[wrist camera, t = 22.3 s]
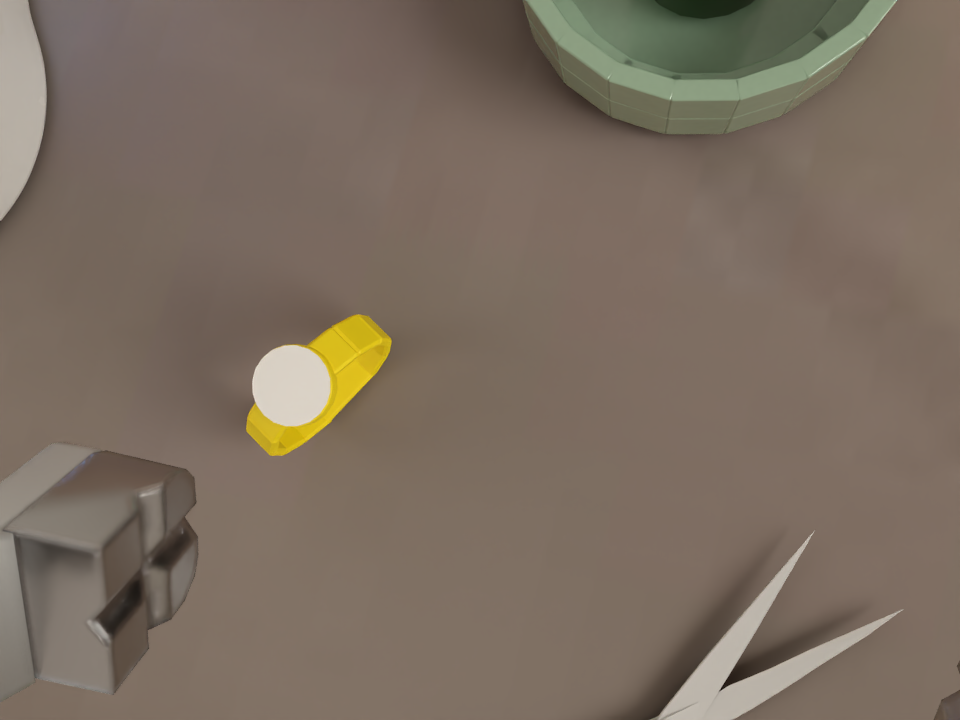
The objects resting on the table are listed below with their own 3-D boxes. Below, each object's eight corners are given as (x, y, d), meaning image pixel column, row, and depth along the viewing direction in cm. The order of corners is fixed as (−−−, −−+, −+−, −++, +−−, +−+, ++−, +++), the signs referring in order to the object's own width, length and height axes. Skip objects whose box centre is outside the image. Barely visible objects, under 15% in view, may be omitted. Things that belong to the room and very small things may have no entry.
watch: (318, 461, 35) (257, 483, 29) (270, 413, 35) (200, 425, 30) (419, 353, 34) (377, 353, 29) (369, 304, 35) (318, 294, 29)
